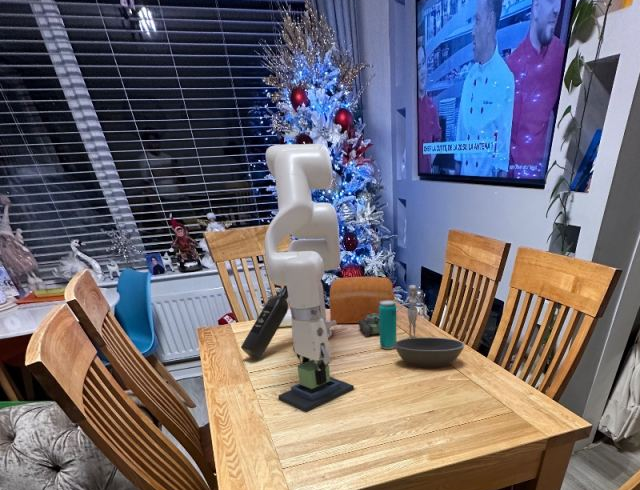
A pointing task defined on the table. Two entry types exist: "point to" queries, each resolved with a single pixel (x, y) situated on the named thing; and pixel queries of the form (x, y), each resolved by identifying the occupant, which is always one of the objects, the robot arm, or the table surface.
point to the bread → (358, 297)
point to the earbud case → (287, 319)
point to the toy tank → (370, 325)
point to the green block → (310, 374)
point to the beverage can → (387, 324)
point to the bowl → (429, 351)
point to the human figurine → (412, 308)
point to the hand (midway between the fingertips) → (315, 380)
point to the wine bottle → (266, 325)
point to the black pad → (315, 394)
